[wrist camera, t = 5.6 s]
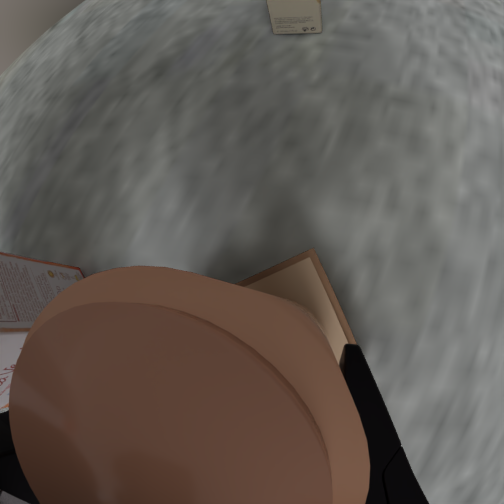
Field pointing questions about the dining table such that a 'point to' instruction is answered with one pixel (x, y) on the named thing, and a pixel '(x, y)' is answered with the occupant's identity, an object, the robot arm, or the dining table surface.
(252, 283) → the plinth
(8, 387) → the cracker box
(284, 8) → the skincare box
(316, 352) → the tan lidded canister
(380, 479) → the robot arm
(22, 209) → the dining table surface
